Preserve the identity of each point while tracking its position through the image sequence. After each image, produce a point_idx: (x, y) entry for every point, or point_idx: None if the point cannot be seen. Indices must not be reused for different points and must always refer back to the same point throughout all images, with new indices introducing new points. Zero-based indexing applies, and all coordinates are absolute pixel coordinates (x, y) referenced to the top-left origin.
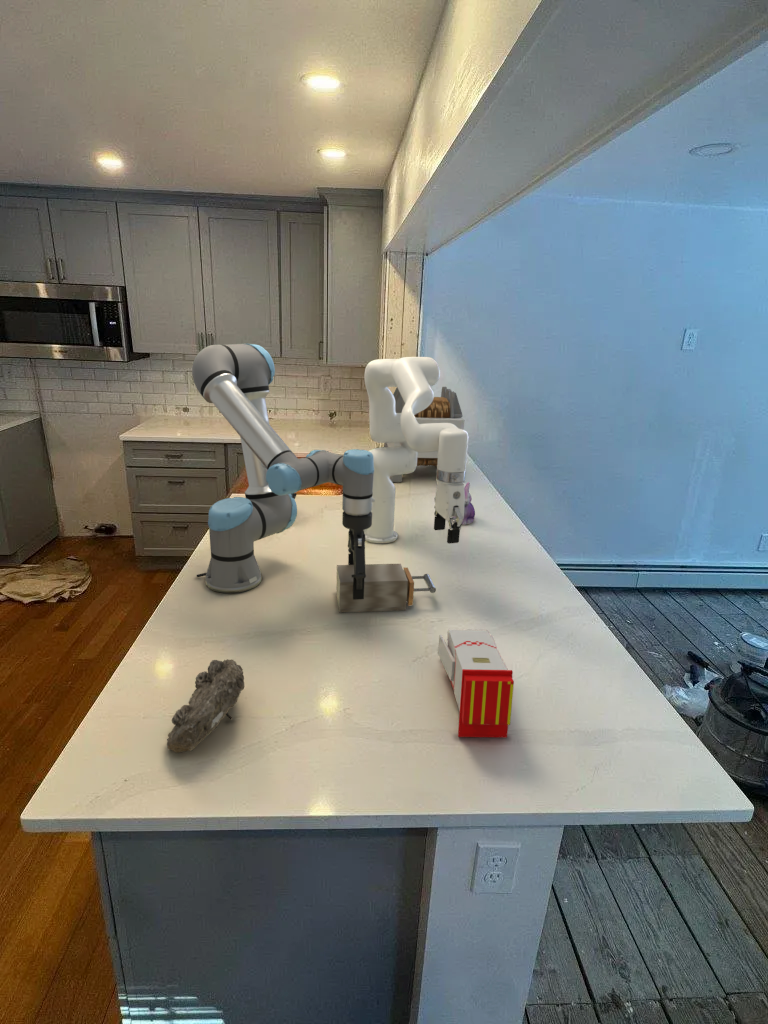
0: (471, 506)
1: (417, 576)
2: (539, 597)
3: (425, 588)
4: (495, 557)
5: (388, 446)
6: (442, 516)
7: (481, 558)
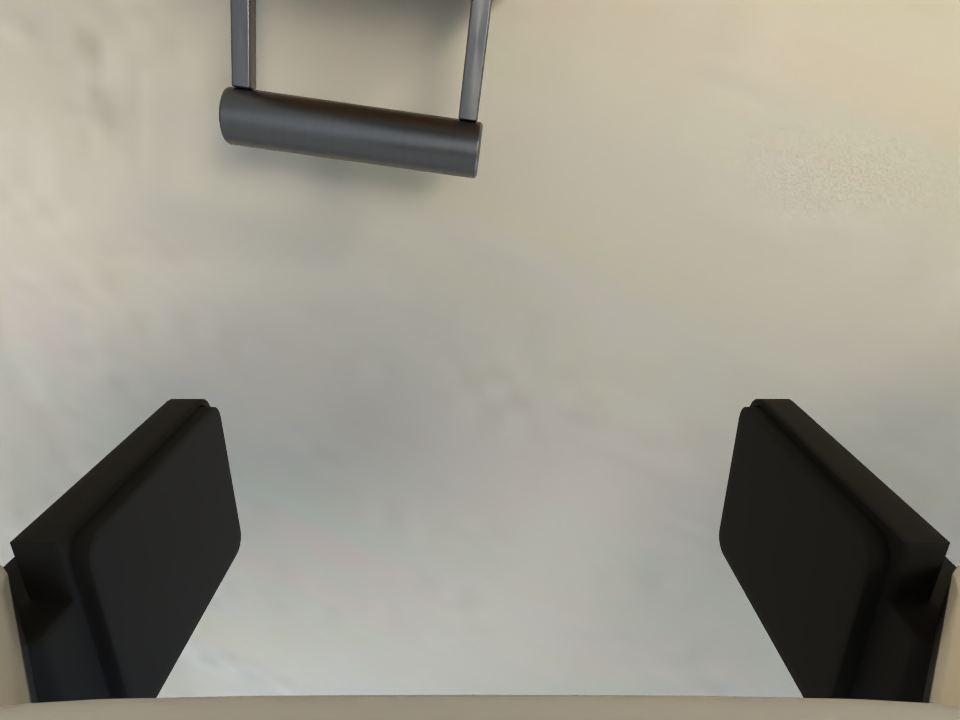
0: None
1: (476, 62)
2: (325, 695)
3: (241, 51)
4: None
5: None
6: (299, 703)
7: None
